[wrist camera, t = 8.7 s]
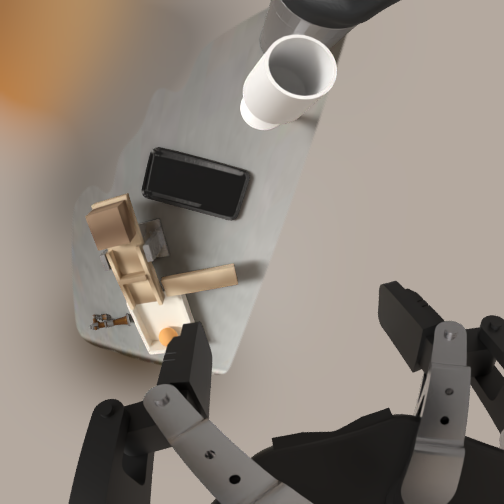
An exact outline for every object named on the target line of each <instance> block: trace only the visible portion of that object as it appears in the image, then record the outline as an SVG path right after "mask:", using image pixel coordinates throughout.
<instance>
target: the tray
mask: <svg viewBox="0 0 504 504" xmlns="http://www.w3.org/2000/svg"><path fill="white" fill-rule="evenodd" d="M163 292H164V294H165V299H164V302H163V305H159V304H158V302H157V301H156V302H150V303H143V304H137V305H136V306H135V309H133V310H131V309H130V307H129V305H128V303H127V302H126V304H127V306H128V309H129V311H130V313H131V315H132V318H133V320H134V322H135V324H136V327H137V329H138V331H139V333H140V335H141V337H142V339H143V341H144V343H145V346H146V348H147V350H148V351H149V353H150V354H160V353H165V352H166V348H167V347H166V346H164V345H162V344H161V343H160V341H159V333H160V331H161V330H162V329H164V328H172V329H174V330H175V331H176V332H177V334H178V336H180V334H181V330H182V326H183V324H187V323H194V322H195V321H194V318H193V315H192V312H191V310H190V307H189V304H188V301H187V298H186V295H185V294H181V295H175V296H170V297H167V295H166V292H165V291H163Z"/></svg>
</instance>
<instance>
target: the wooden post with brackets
mask: <svg viewBox="0 0 504 504" xmlns="http://www.w3.org/2000/svg"><path fill="white" fill-rule="evenodd" d="M98 318H99V320H102V321H103V320H107V321H104V322H99V321H97V320H98ZM98 318H97V319H96V315H93V324H92V323H91V325H90V326H89V329H92V330H97V329H99V328H103V327H105V328H107V327H108V328H109V327H112V326H114V325H121V324H128V325H129V326H131V325H130V321H129V316H128V314H126V316H124V317H122V318H119V319H116V320H113V319H112V320H108V318H110V316H109V315H107V314H104V315H102V314H101V316H100V317H98ZM96 322H97V323H96Z"/></svg>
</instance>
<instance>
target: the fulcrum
mask: <svg viewBox="0 0 504 504" xmlns="http://www.w3.org/2000/svg"><path fill="white" fill-rule="evenodd" d="M138 225H139V228H140V231H141V234H142V237H143V240H144V242H145V244H144V245H143V249H144V252H145V255H146V259H147V262H151V261H154V259H155V258H160V257H165V256H169V255H170V254H169V250H168V247H167V243H166V240H165V237H164V233H163V230H162V226H161V222H160V219H155V220H151V221H147V222H143V223H139V224H138ZM107 252H108V249H106V250H105V251H104V252H103V253H102V254H101V255H100V256H99V257H100V259H101V262H102V265H103V267H104V270H105V271H107V270H110V269H111V266H110V263H109V261H108V259H107V256H106V253H107Z"/></svg>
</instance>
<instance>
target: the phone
mask: <svg viewBox="0 0 504 504" xmlns="http://www.w3.org/2000/svg"><path fill="white" fill-rule="evenodd" d="M249 178H250V177H249V174H248V172H247V171H246V170H244V169H240V168H237V167H234V166H230V165H227V164H223V163H219V162H216V161H212V160H208V159H205V158H201V157H197V156H193V155H189V154H185V153H181V152H177V151H173V150H169V149H165V148H160V147H158V148H154V149H153V150H152V151H151V153H150V156H149V160H148V164H147V168H146V173H145V177H144V181H143V186H142V194H143V196H144V197H145V198H148V199H152V200H155V201H159V202H163V203H167V204H171V205H174V206H178V207H182V208H186V209H189V210H193V211H197V212H200V213H204V214H208V215H211V216H215V217H219V218H222V219H226V220H234V219H236V218H237V216H238V214H239V211H240V208H241V204H242V201H243V198H244V195H245V192H246V189H247V185H248V182H249Z"/></svg>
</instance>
